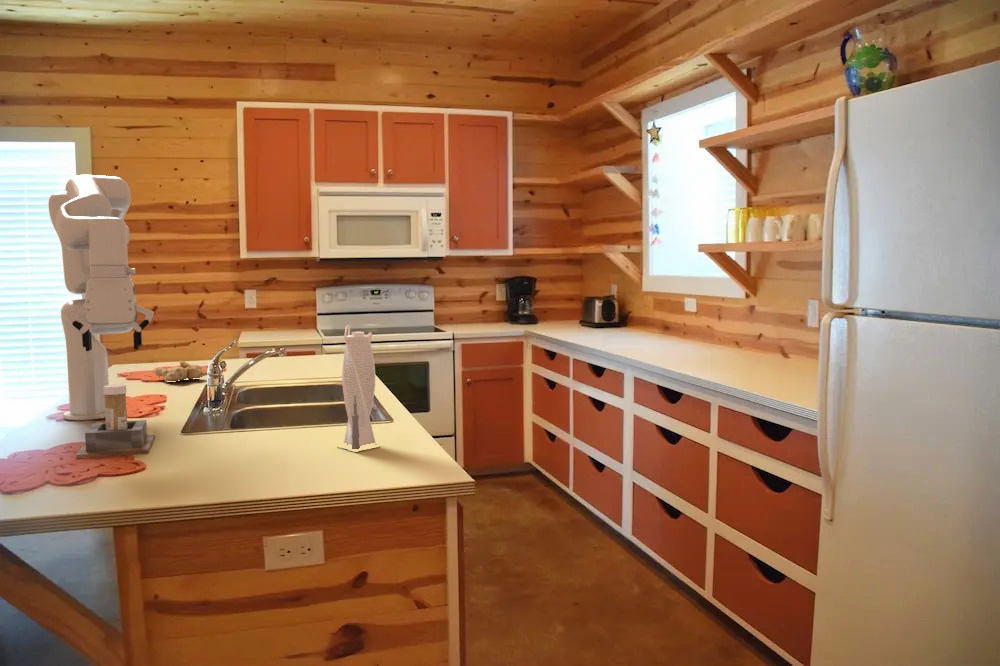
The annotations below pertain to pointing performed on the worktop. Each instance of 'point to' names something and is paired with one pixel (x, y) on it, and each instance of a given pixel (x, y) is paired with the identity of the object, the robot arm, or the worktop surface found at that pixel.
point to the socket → (116, 440)
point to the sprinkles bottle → (115, 406)
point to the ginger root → (180, 372)
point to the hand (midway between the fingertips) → (112, 349)
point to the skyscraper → (358, 387)
